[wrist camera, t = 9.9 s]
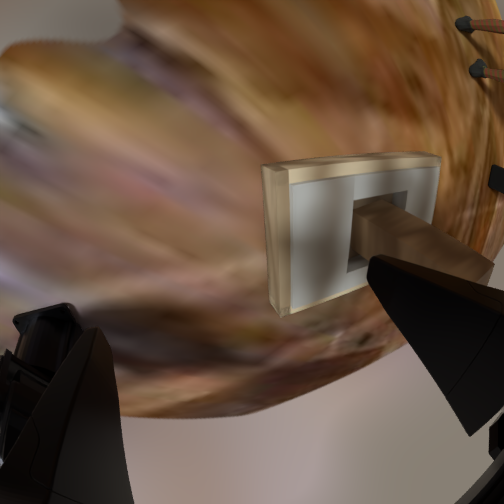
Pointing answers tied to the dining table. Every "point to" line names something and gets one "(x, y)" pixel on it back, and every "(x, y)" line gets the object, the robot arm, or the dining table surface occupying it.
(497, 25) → the toy
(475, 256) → the peg
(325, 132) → the dining table surface
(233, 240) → the dining table surface
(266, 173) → the tray
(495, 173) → the battery
